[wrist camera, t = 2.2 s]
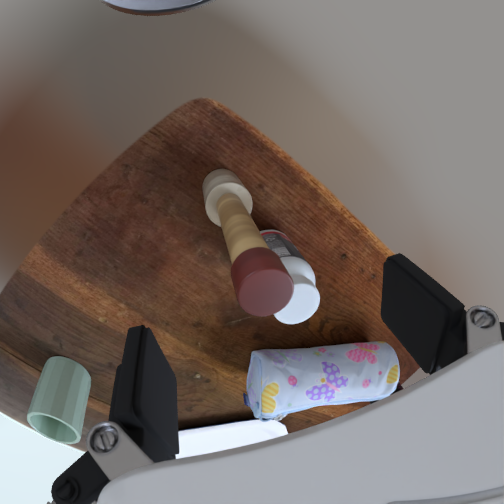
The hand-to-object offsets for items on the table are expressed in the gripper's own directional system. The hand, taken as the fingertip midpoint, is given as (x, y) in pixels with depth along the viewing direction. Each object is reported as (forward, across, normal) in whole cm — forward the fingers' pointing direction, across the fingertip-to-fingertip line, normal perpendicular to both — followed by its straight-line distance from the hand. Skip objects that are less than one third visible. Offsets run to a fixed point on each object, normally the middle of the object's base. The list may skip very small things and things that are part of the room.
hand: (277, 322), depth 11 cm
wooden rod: (+20, 0, -1) cm, 20 cm away
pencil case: (+20, -7, +25) cm, 33 cm away
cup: (+20, +28, +18) cm, 39 cm away
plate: (+20, +12, +47) cm, 53 cm away
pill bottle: (+20, -3, +7) cm, 21 cm away
